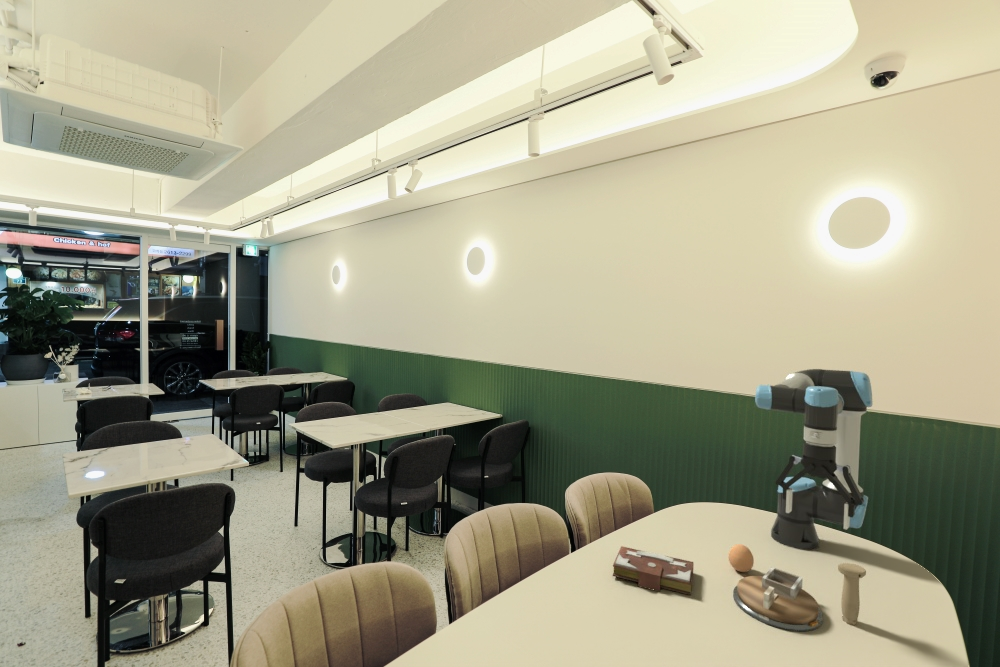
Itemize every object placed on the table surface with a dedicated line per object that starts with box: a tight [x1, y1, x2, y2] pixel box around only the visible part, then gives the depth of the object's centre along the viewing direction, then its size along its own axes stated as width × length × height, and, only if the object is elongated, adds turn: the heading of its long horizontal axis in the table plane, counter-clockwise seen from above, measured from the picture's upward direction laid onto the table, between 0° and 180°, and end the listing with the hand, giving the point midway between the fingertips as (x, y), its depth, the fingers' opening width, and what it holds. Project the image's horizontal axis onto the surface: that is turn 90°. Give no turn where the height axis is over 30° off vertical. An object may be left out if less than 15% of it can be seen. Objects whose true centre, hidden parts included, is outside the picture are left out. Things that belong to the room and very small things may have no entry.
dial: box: [736, 566, 820, 624], centre depth 135 cm, size 20×20×6 cm
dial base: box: [732, 585, 824, 633], centre depth 135 cm, size 22×22×2 cm
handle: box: [837, 562, 867, 626], centre depth 128 cm, size 5×6×15 cm
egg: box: [728, 543, 755, 573], centre depth 154 cm, size 7×7×8 cm
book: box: [612, 545, 694, 596], centre depth 150 cm, size 23×16×5 cm
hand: (816, 519), depth 130 cm, fingers open, 13 cm apart
